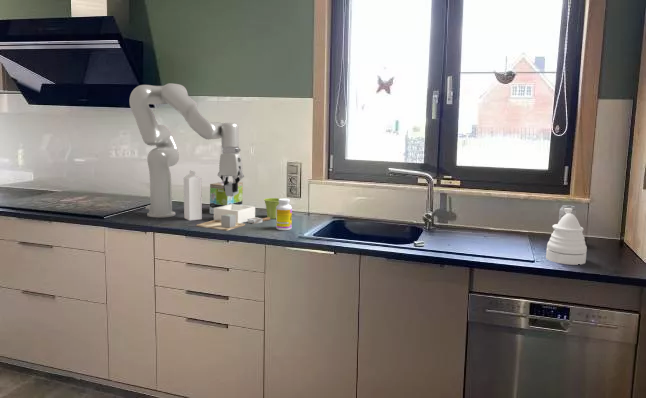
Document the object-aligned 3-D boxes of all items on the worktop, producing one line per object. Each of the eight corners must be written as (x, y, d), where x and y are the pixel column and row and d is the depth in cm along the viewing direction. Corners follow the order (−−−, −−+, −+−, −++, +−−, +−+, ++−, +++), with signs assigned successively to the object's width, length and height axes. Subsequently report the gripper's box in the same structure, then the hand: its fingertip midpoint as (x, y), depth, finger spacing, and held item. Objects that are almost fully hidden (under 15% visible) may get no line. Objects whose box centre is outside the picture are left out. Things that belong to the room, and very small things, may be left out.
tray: (196, 227, 231) (196, 224, 231) (215, 221, 242) (215, 219, 242) (226, 231, 224) (226, 229, 223) (245, 226, 235) (245, 223, 235)
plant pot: (267, 215, 261) (267, 197, 259) (286, 216, 259) (286, 198, 257) (261, 218, 252) (261, 200, 250) (280, 220, 250) (281, 201, 248)
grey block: (231, 192, 249) (229, 182, 247) (238, 192, 248) (237, 182, 246) (226, 195, 246) (224, 185, 244) (233, 196, 244) (231, 186, 242)
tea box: (227, 216, 257) (227, 185, 254) (209, 214, 260) (208, 183, 258) (243, 211, 270) (243, 181, 268) (225, 209, 274) (225, 180, 272)
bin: (213, 221, 244) (213, 208, 243) (231, 216, 255) (231, 204, 254) (237, 224, 238) (237, 211, 237) (255, 219, 249) (255, 206, 248)
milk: (189, 221, 243) (188, 172, 239) (184, 218, 247) (183, 170, 244) (202, 219, 246) (201, 171, 243) (196, 217, 251) (195, 170, 247)
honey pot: (541, 254, 199) (545, 205, 196) (577, 255, 198) (582, 207, 195) (552, 263, 187) (557, 212, 184) (591, 265, 186) (596, 213, 183)
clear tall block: (553, 241, 220) (556, 204, 218) (566, 241, 222) (569, 204, 219) (563, 245, 214) (566, 207, 212) (576, 244, 216) (580, 207, 213)
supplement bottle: (292, 230, 228) (292, 200, 226) (276, 231, 227) (276, 200, 225) (290, 227, 235) (291, 198, 233) (275, 227, 234) (275, 198, 232)
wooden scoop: (253, 224, 238) (253, 220, 238) (247, 223, 241) (247, 218, 241) (272, 221, 247) (272, 217, 246) (266, 219, 249) (266, 215, 249)
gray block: (221, 226, 230) (221, 215, 229) (227, 225, 234) (227, 213, 233) (229, 228, 228) (229, 216, 228) (235, 226, 232) (235, 215, 231)
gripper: (250, 151, 242) (251, 191, 245) (220, 149, 250) (221, 189, 252) (240, 152, 235) (241, 193, 238) (209, 150, 243) (210, 191, 246)
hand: (230, 191), depth 245 cm, fingers closed on grey block, 3 cm apart
